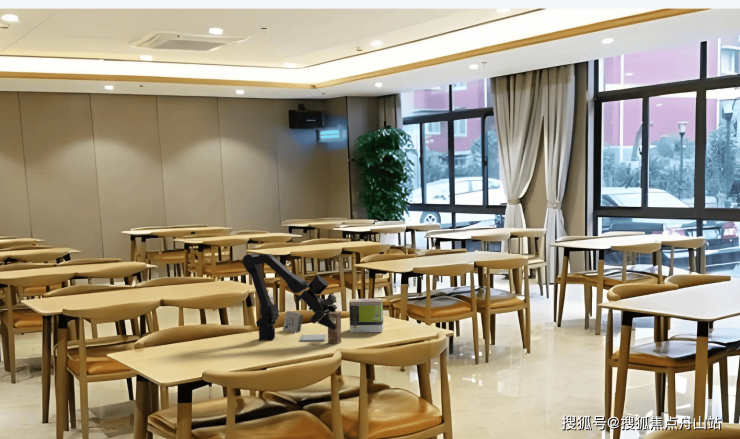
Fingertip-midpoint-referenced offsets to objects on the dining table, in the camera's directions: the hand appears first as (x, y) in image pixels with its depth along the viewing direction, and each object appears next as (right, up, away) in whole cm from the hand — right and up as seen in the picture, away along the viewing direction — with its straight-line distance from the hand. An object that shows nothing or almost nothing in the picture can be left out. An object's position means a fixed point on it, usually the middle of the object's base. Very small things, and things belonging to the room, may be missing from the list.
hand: (337, 327), depth 311 cm
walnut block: (-1, -7, +1) cm, 7 cm away
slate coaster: (-11, -6, +10) cm, 16 cm away
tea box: (+13, -5, +26) cm, 29 cm away
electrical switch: (-22, -6, +29) cm, 37 cm away
